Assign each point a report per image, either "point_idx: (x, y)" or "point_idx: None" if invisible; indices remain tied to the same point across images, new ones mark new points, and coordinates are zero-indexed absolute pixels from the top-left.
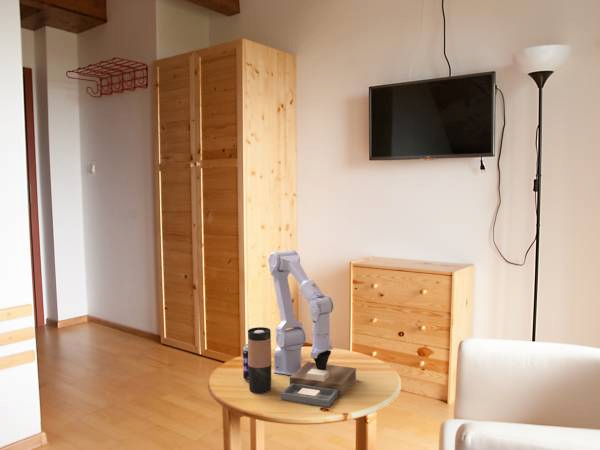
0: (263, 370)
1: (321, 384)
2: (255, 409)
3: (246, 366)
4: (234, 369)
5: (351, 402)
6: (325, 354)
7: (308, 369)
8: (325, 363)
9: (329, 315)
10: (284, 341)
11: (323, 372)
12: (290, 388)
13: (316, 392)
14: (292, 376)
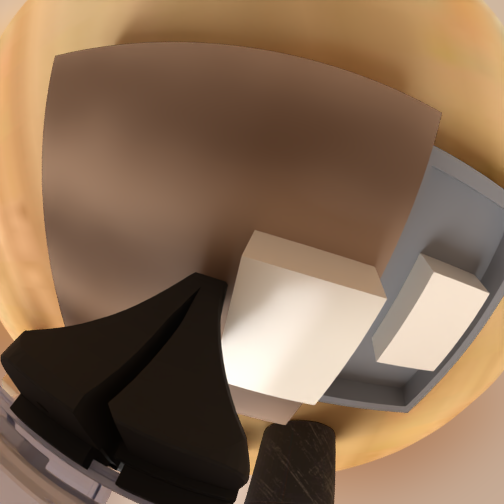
0: (332, 500)
1: None
2: (442, 419)
3: None
4: None
5: (466, 70)
6: (166, 459)
7: None
8: (189, 333)
9: None
10: (107, 499)
11: (298, 306)
12: (347, 393)
13: (456, 291)
14: (275, 418)
